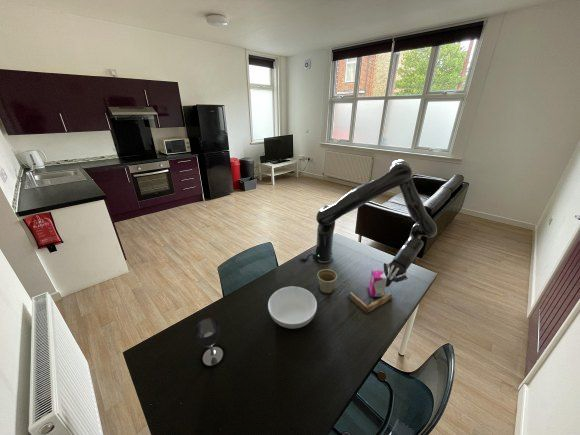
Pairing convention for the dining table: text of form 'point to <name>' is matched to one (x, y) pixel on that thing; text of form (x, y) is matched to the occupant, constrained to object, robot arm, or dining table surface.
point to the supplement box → (377, 283)
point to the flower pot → (326, 280)
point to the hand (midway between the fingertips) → (384, 285)
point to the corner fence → (372, 305)
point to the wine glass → (209, 340)
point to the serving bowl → (292, 307)
